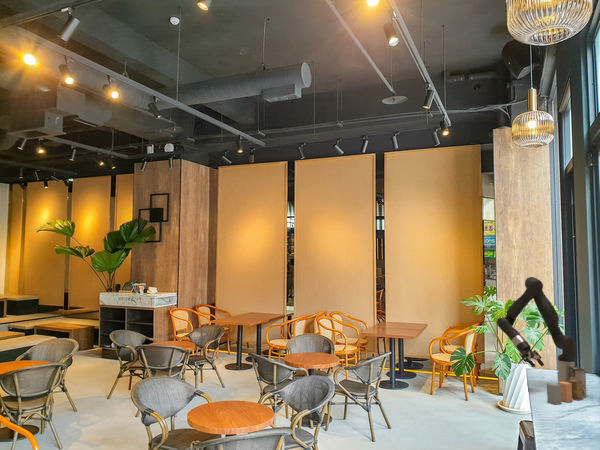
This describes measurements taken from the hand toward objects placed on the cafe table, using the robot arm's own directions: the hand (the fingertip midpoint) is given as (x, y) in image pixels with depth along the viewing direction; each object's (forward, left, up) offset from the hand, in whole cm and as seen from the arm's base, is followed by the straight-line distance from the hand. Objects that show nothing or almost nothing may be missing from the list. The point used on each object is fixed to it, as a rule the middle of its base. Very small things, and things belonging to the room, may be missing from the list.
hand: (538, 366), depth 276 cm
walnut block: (+12, +14, -17) cm, 25 cm away
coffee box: (+5, +22, -17) cm, 28 cm away
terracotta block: (+15, +5, -17) cm, 23 cm away
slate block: (+18, -5, -17) cm, 25 cm away
